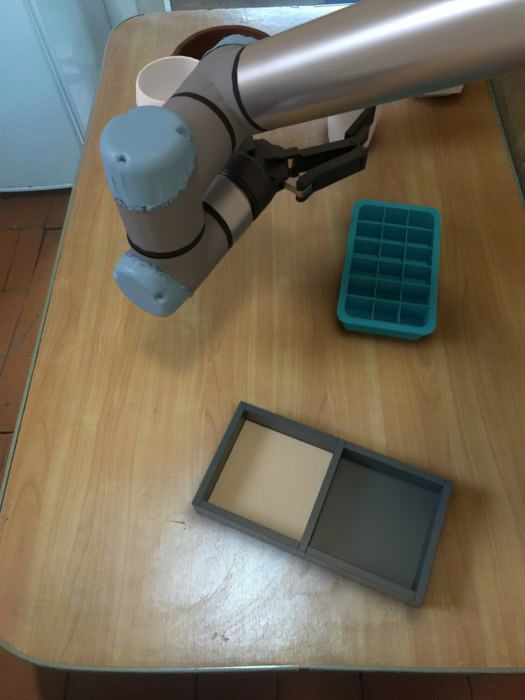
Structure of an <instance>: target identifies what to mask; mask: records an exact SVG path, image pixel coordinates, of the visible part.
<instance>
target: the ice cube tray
mask: <svg viewBox="0 0 525 700" xmlns="http://www.w3.org/2000/svg"><path fill="white" fill-rule="evenodd" d="M350 218H351V219H350V225H349V231H348V237H347V243H346V250H345V256H344V262H343V270H342V276H341V283H340V288H339V295H338V296H339V297H338V301H337V308H336V317H337V319H338V321H340V322H341V323H342V326H343V327H344V328H345V329H346V330H347V331H353V332H359V333H366V334H373V335H379V336H386V337H392V338H393V337H394V338H399V339H405V340H406V339H407V340H413V341H417V340H419V339H421V338H422V336H423V337H426V336H428V335H431V334H433V332H434V330H435V329H436V326H437V307H438V306H437V305H438V287H439V269H440V268H439V267H440V266H439V265H440V247H441V227H442V214H441V212H440V211H439V210H438V209H436V208H434V207H431V206H425V205H424V206H423V205H416V204H415V205H414V204H408V203H407V204H406V203H398V202H389V201H382V200H374V199H366V198H362V199H359V200H356V201H355V202H354V203H353V205H352V211H351V217H350Z"/></svg>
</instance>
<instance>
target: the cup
mask: <svg viewBox="0 0 525 700" xmlns="http://www.w3.org/2000/svg"><path fill="white" fill-rule="evenodd" d="M169 56H170V55H169ZM169 56H165V57H161V58H158V59H156V60H155V59H154V60H153V61H151V62H150V63H148V64H146V65H145V66H144V67H142V69H141V70H140V71H139V72H138V74H137V76H136V82H135V102H136V107H138V106H146V105H153V106H161V107H162V106H163V105H164V103H165V102H166V101H168V99H169V98H170V97H171V96H172V95H173V94H174V92H175V91H176V90H177V89H178V88H179V86H180V85H181V84H182V83H183V82H184V80H185V79H186V78H187V77H188V76H189V74H190V73H191V72H192V71H193V70H194V68H195V67H196V66H197V65H198V63H199V60H197V59H194V58H191V57H185V56H170V57H169Z"/></svg>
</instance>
